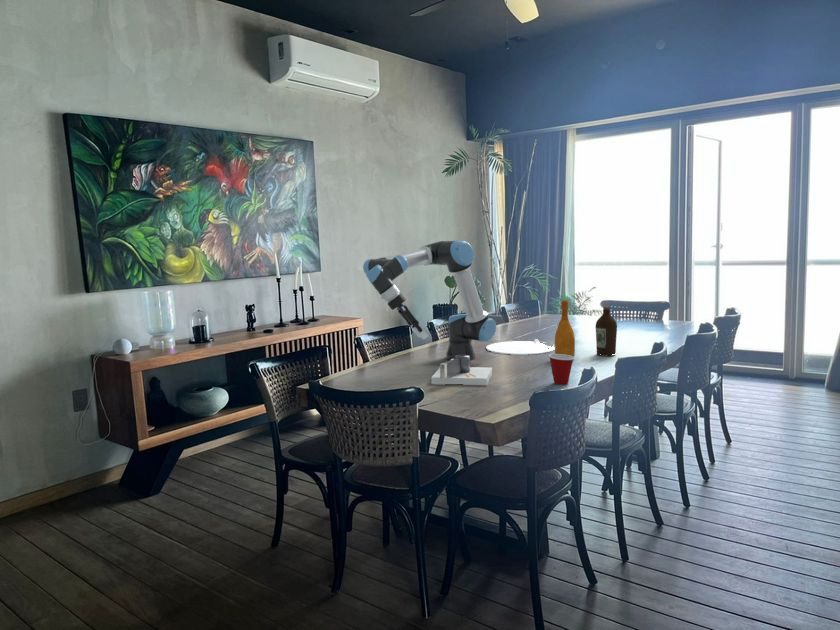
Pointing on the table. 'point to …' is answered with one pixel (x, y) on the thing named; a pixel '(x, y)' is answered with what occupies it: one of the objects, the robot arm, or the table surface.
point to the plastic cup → (561, 367)
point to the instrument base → (465, 377)
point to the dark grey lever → (455, 366)
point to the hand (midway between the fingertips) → (423, 337)
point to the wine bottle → (564, 334)
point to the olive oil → (606, 333)
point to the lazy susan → (520, 347)
